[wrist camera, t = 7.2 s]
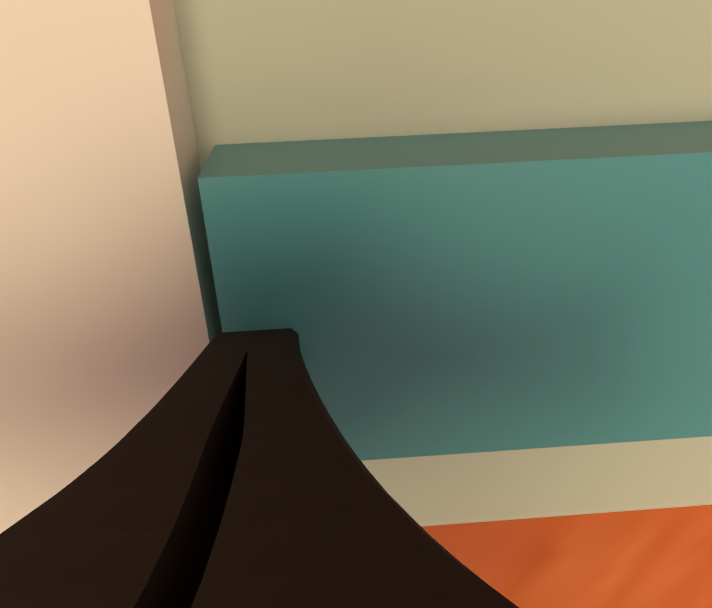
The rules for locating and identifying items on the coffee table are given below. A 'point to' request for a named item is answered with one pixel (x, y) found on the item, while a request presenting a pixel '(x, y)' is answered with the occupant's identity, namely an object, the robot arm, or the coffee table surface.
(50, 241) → the cream flat square slab
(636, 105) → the mat
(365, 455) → the teal rectangular block
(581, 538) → the coffee table surface
